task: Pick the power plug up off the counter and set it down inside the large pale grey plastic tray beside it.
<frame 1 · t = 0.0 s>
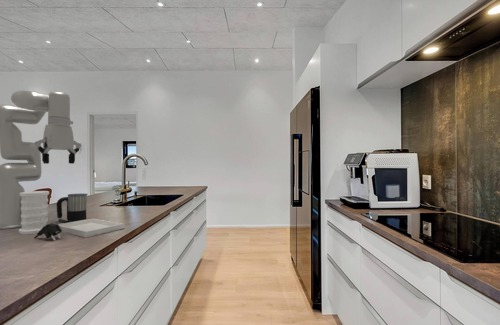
hand: (59, 163, 117), 31 cm above the worktop, tool pointing down, fingers open, 9 cm apart
decorative container: (34, 231, 129), on the worktop
milk frother: (73, 223, 146), on the worktop
power plug: (46, 239, 115), on the worktop
tray: (89, 229, 131), on the worktop
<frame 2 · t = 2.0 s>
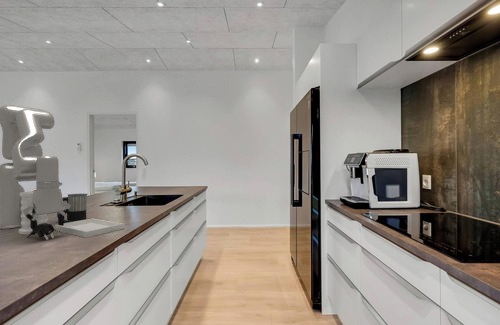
hand: (48, 227, 115), 5 cm above the worktop, tool pointing down, fingers open, 9 cm apart
power plug: (39, 239, 116), on the worktop
everything else where it was.
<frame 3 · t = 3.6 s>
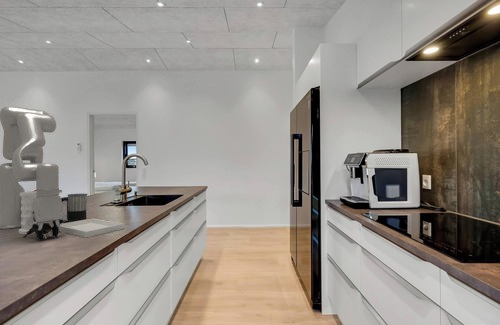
hand: (47, 237, 115), 1 cm above the worktop, tool pointing down, fingers closed on power plug, 4 cm apart
power plug: (36, 238, 117), on the worktop, touching gripper
everything else where it was.
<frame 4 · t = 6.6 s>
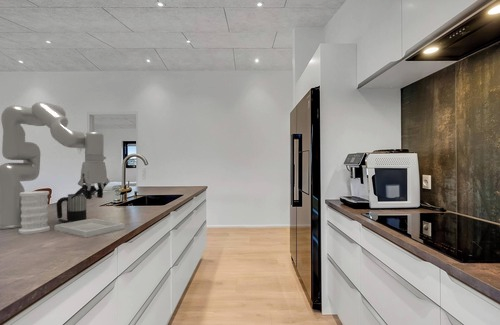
hand: (94, 197, 129), 15 cm above the worktop, tool pointing down, fingers closed on power plug, 4 cm apart
power plug: (83, 199, 131), point 14 cm above the worktop, touching gripper
everything else where it was.
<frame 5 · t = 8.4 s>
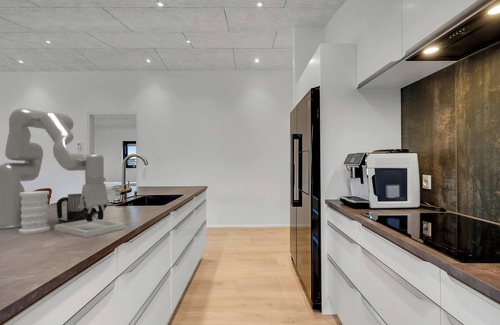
hand: (94, 220, 129), 5 cm above the worktop, tool pointing down, fingers closed on power plug, 4 cm apart
power plug: (84, 221, 131), point 4 cm above the worktop, touching gripper
everything else where it was.
when the fingers open (3 cm above the worktop, at t = 9.6 s): power plug drops 2 cm, resting on tray.
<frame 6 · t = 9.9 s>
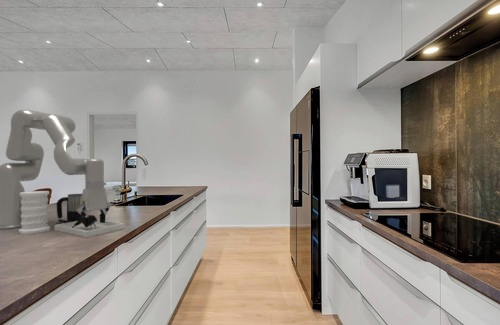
hand: (94, 223, 129), 3 cm above the worktop, tool pointing down, fingers open, 6 cm apart
power plug: (83, 229, 131), resting on tray
everything else where it was.
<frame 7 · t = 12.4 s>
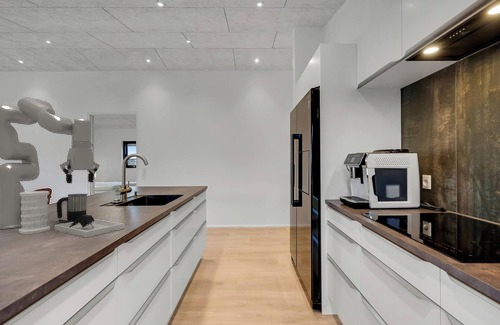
hand: (80, 182, 130), 22 cm above the worktop, tool pointing down, fingers open, 9 cm apart
power plug: (80, 229, 131), resting on tray
everything else where it was.
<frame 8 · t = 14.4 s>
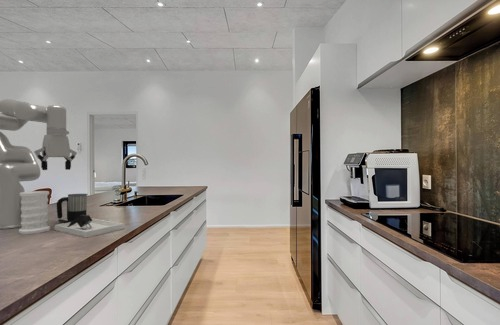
hand: (56, 169, 129), 28 cm above the worktop, tool pointing down, fingers open, 9 cm apart
power plug: (78, 229, 131), resting on tray
everything else where it was.
at the end: power plug inside the target area on the tray (5.2 cm from its centre), point 0.3 cm above the tray's base; the gripper is holding nothing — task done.
